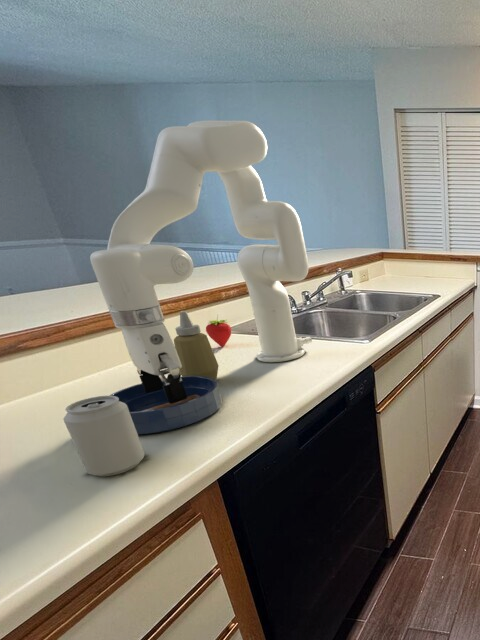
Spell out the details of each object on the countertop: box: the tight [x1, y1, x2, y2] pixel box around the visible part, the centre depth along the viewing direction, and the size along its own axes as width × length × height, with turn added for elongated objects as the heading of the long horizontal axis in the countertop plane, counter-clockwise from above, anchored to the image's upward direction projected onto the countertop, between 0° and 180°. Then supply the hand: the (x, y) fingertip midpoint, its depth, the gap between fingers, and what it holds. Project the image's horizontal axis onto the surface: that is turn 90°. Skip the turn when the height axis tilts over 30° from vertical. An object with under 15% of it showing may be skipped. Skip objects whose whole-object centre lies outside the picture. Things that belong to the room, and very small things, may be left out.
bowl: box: [108, 375, 223, 435], centre depth 88 cm, size 19×19×5 cm
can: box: [62, 395, 146, 477], centre depth 69 cm, size 8×8×12 cm
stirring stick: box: [143, 395, 200, 411], centre depth 88 cm, size 14×3×2 cm, turn 150°
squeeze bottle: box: [173, 310, 220, 382], centre depth 102 cm, size 8×8×18 cm
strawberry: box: [205, 315, 232, 347], centre depth 131 cm, size 6×8×10 cm
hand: (166, 395), depth 88 cm, fingers open, 9 cm apart
